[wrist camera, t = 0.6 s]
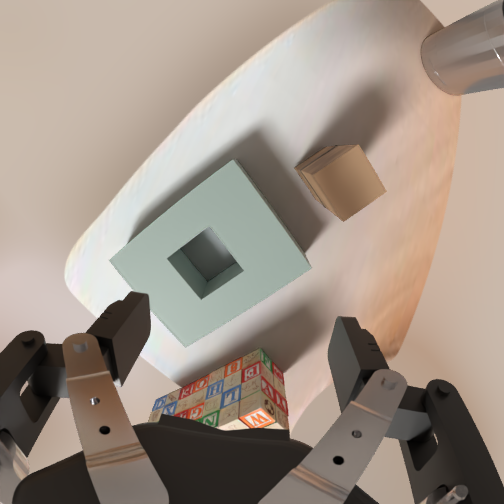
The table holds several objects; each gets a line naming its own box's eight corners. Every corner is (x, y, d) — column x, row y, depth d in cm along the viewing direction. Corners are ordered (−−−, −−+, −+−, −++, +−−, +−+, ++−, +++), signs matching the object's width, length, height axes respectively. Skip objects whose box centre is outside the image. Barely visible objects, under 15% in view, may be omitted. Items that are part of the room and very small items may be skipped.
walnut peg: (325, 146, 33) (358, 143, 22) (346, 178, 34) (387, 191, 23) (293, 168, 34) (312, 174, 23) (315, 200, 35) (343, 222, 24)
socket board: (236, 158, 34) (232, 159, 29) (304, 253, 37) (311, 268, 33) (125, 247, 37) (108, 260, 33) (192, 326, 41) (185, 347, 36)
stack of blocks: (180, 419, 47) (166, 474, 36) (155, 398, 46) (135, 453, 34) (284, 372, 43) (291, 435, 32) (260, 345, 42) (261, 408, 30)
